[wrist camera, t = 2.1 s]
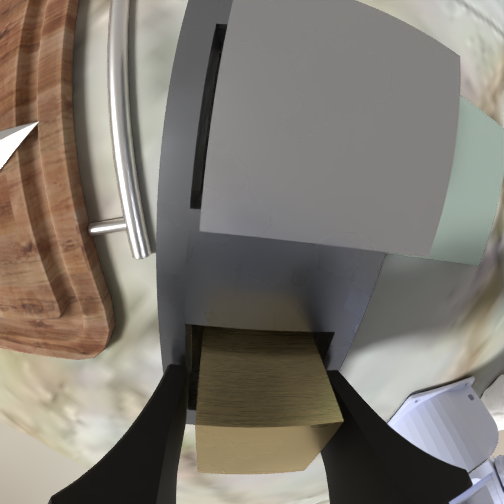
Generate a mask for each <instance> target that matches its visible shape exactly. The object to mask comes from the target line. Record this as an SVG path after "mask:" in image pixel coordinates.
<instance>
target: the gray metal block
mask: <svg viewBox="0 0 504 504" xmlns="http://www.w3.org/2000/svg"><path fill="white" fill-rule="evenodd" d="M459 106H460V56H459V55H458V54H456V53H455V52H453V51H452V50H450V49H449V48H447V47H446V46H444V45H443V44H441V43H440V42H438V41H437V40H435V39H433V38H432V37H430V36H428V35H427V34H425V33H423V32H422V31H420V30H418V29H416V28H415V27H413V26H411V25H409V24H407V23H405V22H403V21H401V20H399V19H397V18H395V17H393V16H391V15H389V14H387V13H385V12H382V11H380V10H378V9H376V8H373V7H371V6H368V5H366V4H363V3H361V2H358V1H356V0H233V3H232V7H231V11H230V16H229V21H228V25H227V30H226V35H225V40H224V46H223V51H222V56H221V62H220V67H219V73H218V79H217V85H216V92H215V98H214V105H213V111H212V118H211V126H210V133H209V141H208V149H207V157H206V166H205V175H204V185H203V195H202V206H201V218H200V230H199V231H203V232H214V233H223V234H233V235H243V236H252V237H262V238H271V239H280V240H289V241H298V242H306V243H315V244H324V245H332V246H340V247H349V248H357V249H365V250H373V251H381V252H389V253H396V254H404V255H412V256H419V257H426V258H428V257H429V254H430V251H431V248H432V245H433V242H434V239H435V236H436V233H437V229H438V226H439V222H440V219H441V215H442V211H443V207H444V203H445V199H446V195H447V190H448V186H449V181H450V176H451V170H452V165H453V159H454V153H455V146H456V138H457V129H458V119H459Z"/></svg>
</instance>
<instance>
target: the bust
mask: <svg viewBox="0 0 504 504" xmlns="http://www.w3.org/2000/svg"><path fill="white" fill-rule="evenodd" d="M480 399H481V401H482V402H483V404H484V405H485V407H486V408H487V410H488V411H489V413H490V414H491V416H492V417H493V419H494V421H495V422H496V424H497V427H498V432H499V431H500V430H501V429H502V430H504V374H502V375H500V376H499V377H498V378H497V379H496V380H495V382H494V383H493V384H492V385H491V386H490V387H489V388H487V389H486V390H485V391H484V393H483V396H482V397H481V398H480Z"/></svg>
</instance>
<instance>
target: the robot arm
mask: <svg viewBox="0 0 504 504" xmlns="http://www.w3.org/2000/svg"><path fill="white" fill-rule="evenodd" d="M326 373H327V376H328V378H329V381H330V384H331V387H332V389H333V392H334V395H335V398H336V400H337V403H338V406H339V409H340V412H341V414H342V417H343V420H344V422H343V423H342V424H341V426H340V427H339V429H338V430H337V431H336V433H335V434H334V435H333V436H332V438H331V439H330V440H329V442H328V443H327V444H326V445H325V447H324V448H323V449H322V450H321V451H320V452H321V455H322V459H323V462H324V466H325V470H326V475H327V482H328V489H329V498H330V504H504V456H502V455H499V456H498V457H497V458H494V457H492V458H490V459H489V460H487V459H488V458H489V457H490V456H491V455H492V453H493V452H494V450H495V448H496V446H497V443H498V427H497V424H496V422H495V421H494V419H493V417H492V416H491V414H490V413H489V411H488V410H487V408H486V407H485V405H484V404H483V402H482V401H481V399H480V398H479V397H478V395H477V394H476V392H475V391H474V389H473V388H472V387H471V385H472V384H473V382H474V381H475V378H474V377H470V378H467V379H464V380H461V381H459V382H456V383H453V384H450V385H446V386H443V387H440V388H437V389H433V390H430V391H426V392H422V393H418V394H414V395H412V396H410V397H409V398H408V399H407V400H406V401H405V402H404V404H403V405H402V406H401V408H400V409H399V410H398V411H397V413H396V414H395V415H394V416H393V417H392V419H391V420H390V421H389V422H388V423H386V422H385V421H384V420H383V419H382V418H381V417H380V416H379V415H378V414H377V413H376V412H375V411H374V410H373V409H372V408H371V407H370V406H369V405H368V404H367V403H366V402H365V401H364V400H363V399H362V397H361V396H360V395H359V394H358V393H357V392H356V391H355V390H354V388H353V387H352V386H351V385H350V384H349V383H348V381H347V380H346V379H345V378H344V377H343V376H342V374H341V373H340V372H339V371H338V370H326ZM187 405H188V384H187V366H184V365H176V364H169V365H168V366H167V368H166V371H165V373H164V375H163V377H162V379H161V381H160V383H159V384H158V386H157V388H156V390H155V391H154V393H153V395H152V396H151V398H150V399H149V401H148V403H147V404H146V406H145V407H144V409H143V410H142V412H141V413H140V415H139V416H138V417H137V419H136V420H135V421H134V423H133V424H132V425H131V427H130V428H129V429H128V431H127V432H126V433H125V434H124V435H123V437H122V438H121V439H120V440H119V441H118V442H117V444H116V445H115V446H114V447H113V448H112V449H111V450H110V451H109V452H108V453H107V454H106V455H105V456H104V457H103V458H102V459H101V460H100V461H99V462H98V463H97V464H96V465H94V466H93V467H92V468H91V469H90V470H88V471H87V472H86V473H85V474H83V475H82V476H81V477H80V478H79V479H77V480H76V481H74V482H73V483H72V484H70V485H69V486H67V487H66V488H64V489H62V490H61V491H59V492H58V493H56V494H55V495H53V496H52V497H51V498H50V500H49V502H48V504H176V484H177V471H178V464H179V458H180V452H181V447H182V441H183V436H184V430H185V425H186V417H187ZM486 460H487V461H486ZM485 461H486V462H485ZM484 462H485V463H484ZM482 463H483V464H482ZM481 464H482V465H481ZM480 465H481V466H480ZM479 466H480V467H479ZM477 467H479V468H477ZM476 468H477V469H476ZM473 470H474V471H473ZM472 471H473V472H472Z"/></svg>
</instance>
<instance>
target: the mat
mask: <svg viewBox="0 0 504 504" xmlns="http://www.w3.org/2000/svg"><path fill="white" fill-rule="evenodd" d="M503 176H504V128H502V127H501V126H500V125H499V124H498V123H496V122H495V121H494V120H493V119H492V118H490V117H489V116H488V115H487V114H485V113H484V112H483V111H481V110H480V109H479V108H477V107H476V106H475V105H473V104H472V103H470V102H469V101H468V100H466V99H465V98H463V97H462V96H460V106H459V119H458V129H457V138H456V146H455V153H454V159H453V165H452V170H451V176H450V181H449V186H448V190H447V195H446V199H445V203H444V207H443V211H442V215H441V219H440V222H439V226H438V229H437V233H436V236H435V239H434V242H433V245H432V248H431V251H430V254H429V257H428V258H426V257H419V256H412V255H404V254H396V253H389V252H386V254H394V255H402V256H409V257H417V258H425V259H432V260H440V261H447V262H454V263H461V264H468V265H475V266H479V265H480V262H481V259H482V257H483V254H484V251H485V248H486V245H487V242H488V239H489V235H490V232H491V229H492V225H493V221H494V218H495V214H496V210H497V206H498V201H499V197H500V192H501V187H502V182H503Z"/></svg>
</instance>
